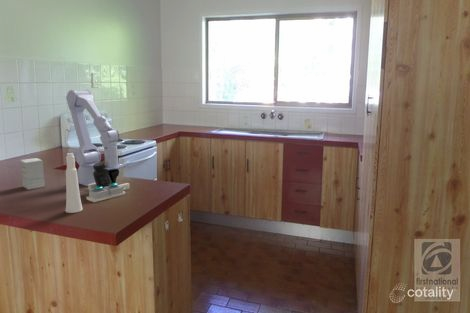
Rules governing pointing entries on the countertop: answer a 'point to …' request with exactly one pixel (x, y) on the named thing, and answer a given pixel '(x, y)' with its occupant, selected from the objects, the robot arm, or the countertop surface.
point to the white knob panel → (106, 192)
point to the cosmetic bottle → (72, 186)
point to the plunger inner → (113, 185)
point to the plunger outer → (98, 188)
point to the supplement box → (32, 173)
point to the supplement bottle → (101, 175)
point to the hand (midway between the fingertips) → (113, 185)
